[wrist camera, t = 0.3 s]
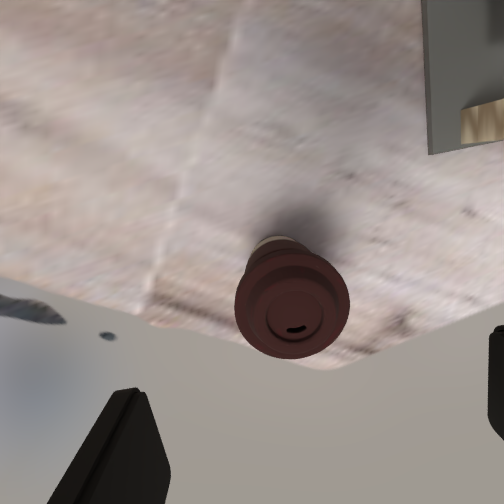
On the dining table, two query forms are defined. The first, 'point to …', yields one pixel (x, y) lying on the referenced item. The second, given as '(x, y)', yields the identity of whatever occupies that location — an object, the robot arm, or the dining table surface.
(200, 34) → the dining table surface
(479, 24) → the board
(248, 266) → the coffee cup
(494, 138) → the socket
